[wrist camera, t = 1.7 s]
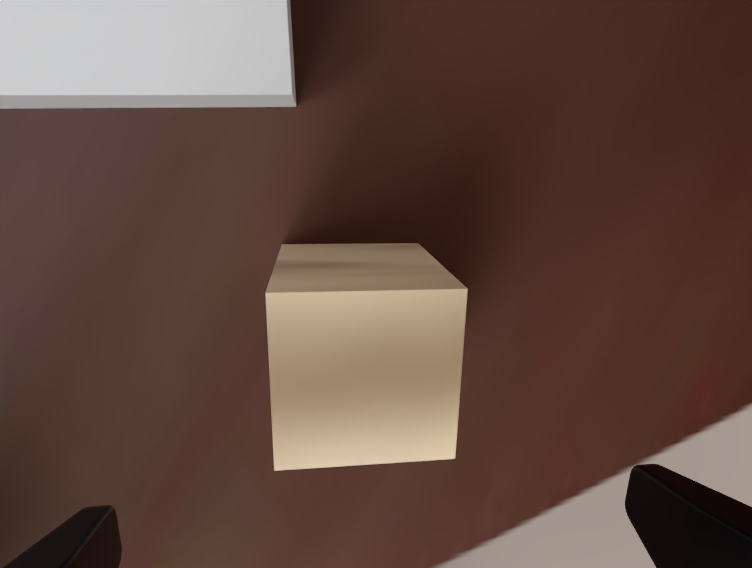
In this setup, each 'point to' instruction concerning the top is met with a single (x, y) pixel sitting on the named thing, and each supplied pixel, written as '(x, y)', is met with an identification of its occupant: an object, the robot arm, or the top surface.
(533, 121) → the top surface
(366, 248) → the beech cube
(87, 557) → the robot arm
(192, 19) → the white block
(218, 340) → the top surface
